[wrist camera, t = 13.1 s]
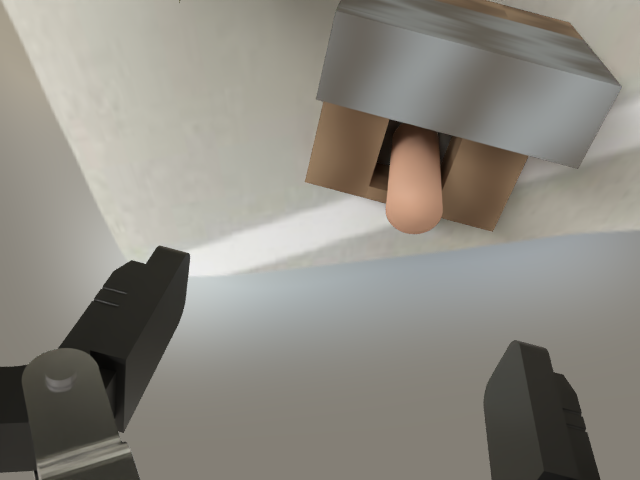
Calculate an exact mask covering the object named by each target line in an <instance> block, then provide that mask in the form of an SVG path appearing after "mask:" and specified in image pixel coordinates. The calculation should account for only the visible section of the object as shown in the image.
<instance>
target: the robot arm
mask: <svg viewBox="0 0 640 480" xmlns="http://www.w3.org/2000/svg"><path fill="white" fill-rule="evenodd" d="M189 264H190V254H189V253H186V252H182V251H178V250H175V249H171V248H167V247H163V246H158V247H157V248H156V249H155V251H154V252H153V254H152V255H151V257H150V259H149V260H148V262H147V263H146V264H144V263H140V262H136V261H132V260H131V261H130V262H128V263H126V264H125V265H123V266H121V267H120V268H118V269H116V270H115V271H114V272H113V273H112V274H111V276H110V277H109V279H108V280H107V281H106V283H105V284H104V285H103V288H102V289H101V290H100V291H99V293H98V294H97V295H96V297H95V298H94V301H92V302H91V304H90V305H89V306H88V308H87V309H86V311H85V312H84V314H83V315H82V316H81V317H80V319H79V320H78V322H77V323H76V325H75V326H74V327H73V329H72V330H71V331H70V333H69V334H68V336H67V337H66V338H65V340H64V341H63V343H62V344H61V345H60V346H59V348H58V349H54V350H50V351H47V352H45V353H42V354H41V355H39V356H37V357H36V358H34V359H33V360H32V361H31V362H30V363H29V364H28V365H23V366H14V367H0V472H1V473H2V472H18V471H33V474H34V480H140V477H139V474H138V471H137V468H136V465H135V462H134V459H133V455H132V452H131V450H130V448H129V445H128V444H127V443H126V442H122V441H121V438H120V436H119V432H122V433H124V431H125V429H126V427H127V425H128V423H129V421H130V419H131V417H132V415H133V413H134V411H135V409H136V407H137V405H138V403H139V401H140V399H141V397H142V395H143V393H144V391H145V389H146V387H147V385H148V383H149V381H150V379H151V378H152V376H153V373H154V372H155V370H156V368H157V365H158V364H159V362H160V360H161V358H162V355H163V354H164V352H165V350H166V348H167V346H168V344H169V342H170V339H171V338H172V336H173V334H174V332H175V330H176V328H177V326H178V324H179V321H180V319H181V316H182V313H183V309H184V305H185V300H186V291H187V282H188V273H189ZM484 414H485V423H486V432H487V441H488V450H489V459H490V468H491V477H492V480H600V477H599V473H598V469H597V466H596V462H595V459H594V455H593V451H592V448H591V444H590V441H589V437H588V434H587V432H585V430H586V427H585V423H584V419H583V417H581V409H580V405H579V402H578V398H577V394H576V393H575V391H574V390H573V388H572V387H571V385H570V384H569V382H568V381H567V380H566V378H565V377H564V375H562V374H558V373H554V372H553V369H552V365H551V360H550V356H549V353H548V351H547V349H546V348H543V347H539V346H536V345H531V344H528V343H524V342H520V341H517V340H514V341H513V342H511V343H510V345H509V347H508V348H507V350H506V352H505V353H504V355H503V357H502V359H501V360H500V362H499V364H498V365H497V367H496V369H495V371H494V372H493V374H492V376H491V378H490V379H489V382H488V384H487V386H486V390H485V395H484ZM118 431H119V432H118Z"/></svg>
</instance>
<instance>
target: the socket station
mask: <svg viewBox="0 0 640 480" xmlns="http://www.w3.org/2000/svg"><path fill="white" fill-rule="evenodd" d="M621 88H622V86H621V85H620V84H619V82H618V81H617V80H616V79H615V78H614V76H613V75H612V74H611V73H610V71H609V70H608V69H607V68H606V67H605V65H604V64H603V63H602V62H601V60H600V59H599V58H598V57H597V56H596V54H595V53H594V52H593V51H592V49H591V48H590V47H589V46H588V44H587V43H586V42H585V41H584V40H583V38H582V37H581V36H580V35H579V33H578V32H577V31H576V30H575V29H574V27H573V26H572V25H571V24H570V23H569V22H565V21H561V20H558V19H554V18H550V17H546V16H543V15H539V14H535V13H531V12H528V11H524V10H520V9H516V8H513V7H509V6H505V5H501V4H498V3H494V2H490V1H486V0H341V1H340V3H339V5H338V7H337V9H336V12H335V16H334V21H333V25H332V30H331V34H330V39H329V43H328V48H327V52H326V56H325V61H324V65H323V70H322V74H321V79H320V83H319V88H318V92H317V97H316V100H320V101H324V102H323V106H322V110H321V115H320V119H319V123H318V128H317V132H316V136H315V141H314V145H313V149H312V154H311V158H310V162H309V166H308V171H307V175H306V179H305V182H307V183H311V184H314V185H318V186H322V187H326V188H329V189H333V190H337V191H341V192H345V193H348V194H352V195H356V196H360V197H364V198H367V199H371V200H375V201H379V202H382V203H386V201H387V190H388V180H389V169H390V166H389V165H385V164H382V163H378V162H377V158H378V155H379V152H380V149H381V145H382V142H383V139H384V136H385V132H386V129H387V126H388V123H389V119H392V120H396V121H400V122H403V123H407V124H411V125H415V126H418V127H422V128H426V129H430V130H433V131H437V132H441V133H445V134H449V135H452V137H451V139H450V142H449V145H448V147H447V150H446V152H445V155H444V158H443V160H442V163H441V166H440V171H441V187H442V204H443V213H442V217H441V218H443V219H447V220H451V221H454V222H458V223H462V224H466V225H470V226H473V227H477V228H481V229H485V230H488V231H492V232H493V230H494V228H495V226H496V224H497V222H498V219H499V217H500V215H501V213H502V211H503V209H504V207H505V205H506V203H507V200H508V198H509V196H510V194H511V192H512V190H513V188H514V186H515V184H516V182H517V179H518V177H519V175H520V173H521V171H522V169H523V167H524V165H525V163H526V161H527V158H528V156H532V157H535V158H539V159H543V160H547V161H551V162H554V163H558V164H562V165H566V166H569V167H573V168H577V169H578V168H579V166H580V164H581V162H582V160H583V158H584V157H585V155H586V153H587V151H588V149H589V147H590V145H591V144H592V142H593V140H594V138H595V136H596V134H597V132H598V131H599V129H600V127H601V125H602V123H603V121H604V119H605V118H606V116H607V114H608V112H609V110H610V108H611V106H612V105H613V103H614V101H615V99H616V97H617V95H618V93H619V92H620V90H621Z"/></svg>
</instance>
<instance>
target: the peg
mask: <svg viewBox="0 0 640 480" xmlns="http://www.w3.org/2000/svg"><path fill="white" fill-rule="evenodd" d="M442 213H443V204H442V187H441V171H440V154H439V138H438V134H437V131H433V130H430V129H426V128H422V127H418V126H415V125H411V124H407V123H402V124H401V125H400V126H399V127H398V128H397V129H396V130H395V132H394V134H393V138H392V149H391V159H390V169H389V180H388V190H387V201H386V216H387V218H388V220H389V222H390V223H391V224H392V225H393V226H394V227H395V228H396V229H398V230H399V231H402V232H404V233H409V234H420V233H424V232H427V231H429V230H431V229H432V228H434V227H435V226H436V225H437V224H438V222H439V221H440V219H441V217H442Z"/></svg>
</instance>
